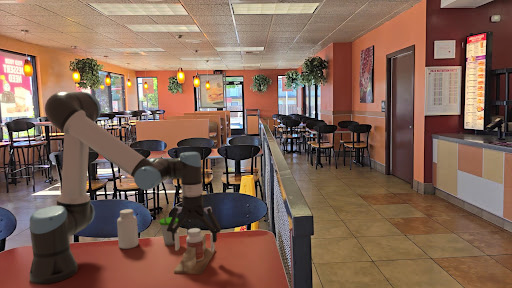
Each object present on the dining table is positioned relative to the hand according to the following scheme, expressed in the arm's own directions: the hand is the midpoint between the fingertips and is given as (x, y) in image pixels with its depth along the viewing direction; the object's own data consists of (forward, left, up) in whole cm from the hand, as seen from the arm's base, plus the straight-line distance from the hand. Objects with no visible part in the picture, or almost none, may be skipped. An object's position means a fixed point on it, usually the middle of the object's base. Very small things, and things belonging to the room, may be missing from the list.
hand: (195, 249), depth 145 cm
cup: (-16, +16, -5) cm, 23 cm away
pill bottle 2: (0, 0, -4) cm, 4 cm away
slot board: (0, 0, -4) cm, 4 cm away
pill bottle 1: (-33, +13, -5) cm, 36 cm away
